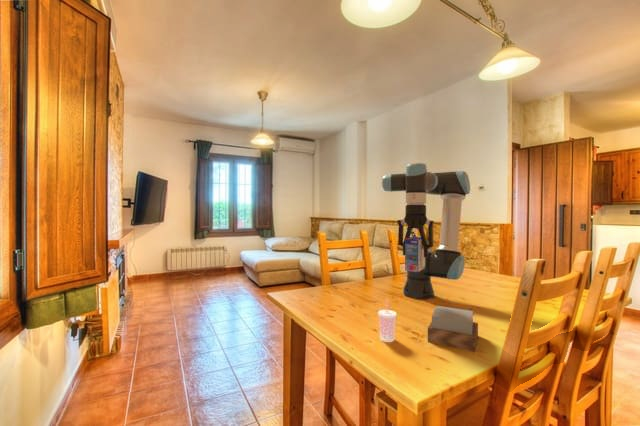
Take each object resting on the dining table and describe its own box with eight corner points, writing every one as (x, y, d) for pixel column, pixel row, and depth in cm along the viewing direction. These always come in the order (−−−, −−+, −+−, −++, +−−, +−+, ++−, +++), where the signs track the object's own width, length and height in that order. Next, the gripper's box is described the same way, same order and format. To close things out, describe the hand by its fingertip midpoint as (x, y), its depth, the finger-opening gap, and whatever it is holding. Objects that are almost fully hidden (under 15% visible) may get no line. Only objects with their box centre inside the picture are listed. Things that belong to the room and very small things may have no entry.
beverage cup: (391, 344, 96) (391, 301, 96) (374, 339, 100) (374, 298, 100) (399, 338, 101) (399, 297, 100) (383, 333, 105) (383, 294, 104)
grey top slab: (431, 327, 99) (431, 315, 99) (436, 316, 109) (436, 305, 109) (472, 335, 93) (472, 322, 93) (472, 322, 104) (472, 311, 104)
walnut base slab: (427, 342, 99) (427, 327, 99) (435, 328, 111) (435, 315, 111) (474, 353, 91) (474, 337, 91) (477, 337, 103) (478, 322, 103)
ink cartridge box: (411, 266, 119) (412, 230, 119) (425, 268, 116) (426, 231, 116) (403, 270, 111) (405, 232, 111) (418, 272, 108) (420, 233, 108)
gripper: (389, 204, 115) (388, 263, 115) (439, 204, 105) (438, 269, 105) (395, 204, 121) (394, 260, 122) (443, 204, 111) (442, 265, 112)
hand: (415, 264), depth 114 cm, fingers closed on ink cartridge box, 5 cm apart
